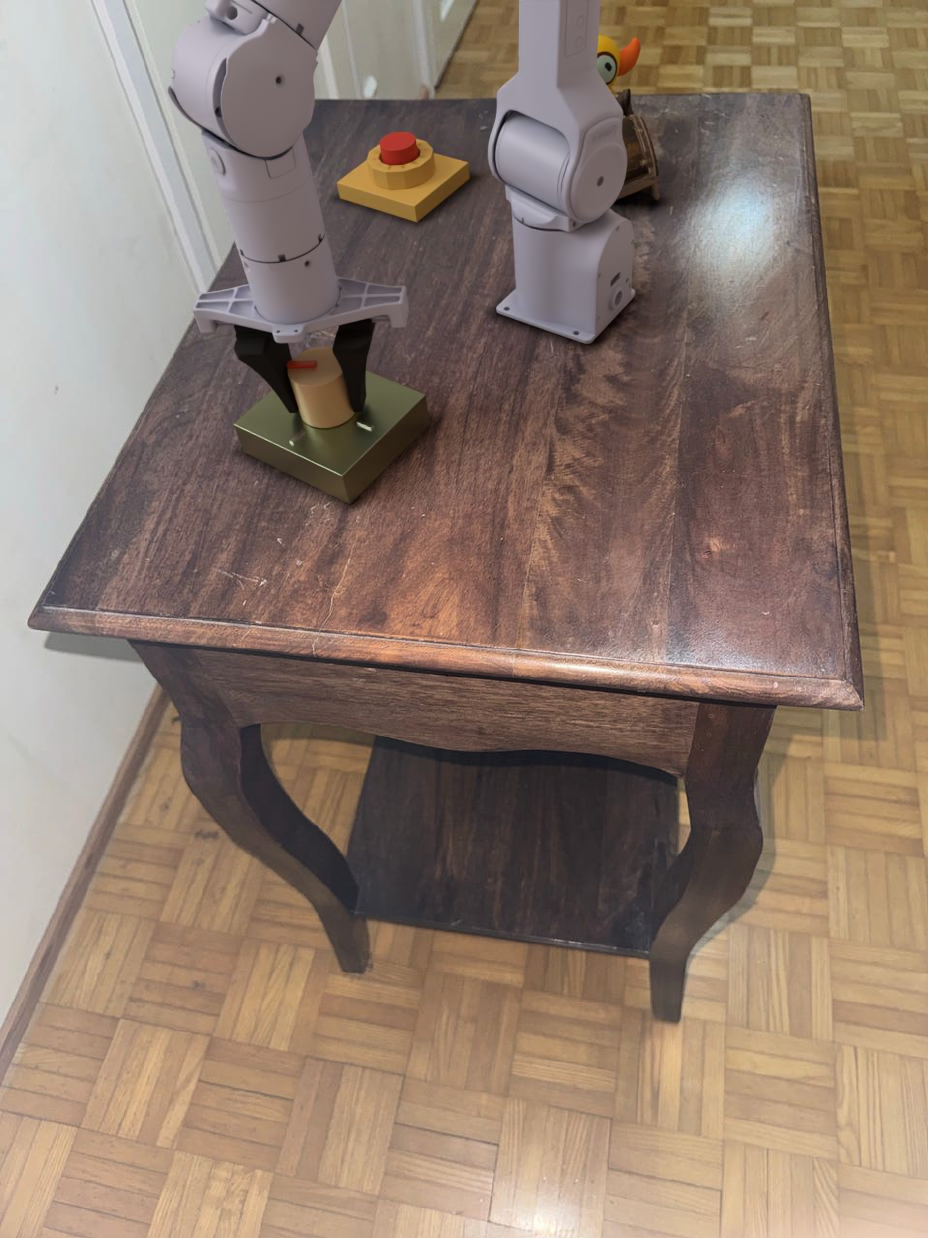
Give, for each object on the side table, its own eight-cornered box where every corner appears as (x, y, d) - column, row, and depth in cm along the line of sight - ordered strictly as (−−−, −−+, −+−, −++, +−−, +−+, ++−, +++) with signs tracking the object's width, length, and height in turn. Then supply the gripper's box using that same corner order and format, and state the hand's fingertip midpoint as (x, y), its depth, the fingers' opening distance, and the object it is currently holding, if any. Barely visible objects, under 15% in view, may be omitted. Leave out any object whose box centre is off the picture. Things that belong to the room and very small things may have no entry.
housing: (470, 178, 92) (466, 143, 90) (417, 222, 88) (411, 187, 86) (393, 156, 96) (388, 123, 94) (339, 198, 92) (332, 164, 90)
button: (425, 153, 90) (423, 135, 89) (403, 170, 88) (400, 153, 87) (397, 146, 91) (394, 128, 90) (375, 162, 90) (371, 145, 88)
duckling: (623, 119, 96) (628, 14, 88) (646, 141, 93) (653, 34, 85) (524, 147, 95) (520, 42, 87) (544, 170, 92) (541, 64, 84)
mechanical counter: (665, 175, 79) (677, 95, 83) (520, 160, 81) (538, 82, 84) (652, 238, 86) (664, 162, 89) (519, 223, 87) (536, 148, 91)
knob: (361, 388, 70) (350, 342, 66) (352, 428, 67) (340, 381, 64) (306, 389, 70) (292, 343, 67) (295, 428, 68) (280, 383, 64)
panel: (430, 424, 71) (425, 392, 69) (350, 505, 67) (341, 474, 64) (325, 379, 76) (317, 348, 73) (244, 452, 71) (231, 422, 69)
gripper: (154, 278, 56) (222, 441, 67) (384, 270, 54) (415, 439, 65) (184, 215, 60) (244, 378, 71) (399, 205, 58) (426, 375, 69)
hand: (327, 403), depth 68 cm, fingers closed on knob, 4 cm apart
